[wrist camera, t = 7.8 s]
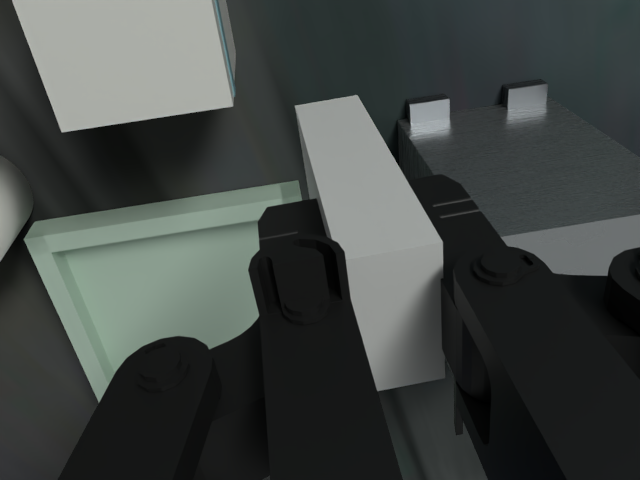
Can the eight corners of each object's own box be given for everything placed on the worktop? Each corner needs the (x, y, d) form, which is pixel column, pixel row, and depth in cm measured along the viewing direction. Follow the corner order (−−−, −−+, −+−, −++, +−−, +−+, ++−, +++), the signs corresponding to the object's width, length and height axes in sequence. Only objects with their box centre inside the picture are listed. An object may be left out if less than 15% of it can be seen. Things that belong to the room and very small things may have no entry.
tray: (115, 405, 37) (110, 427, 36) (34, 221, 30) (23, 239, 29) (327, 370, 38) (330, 389, 36) (298, 180, 31) (301, 195, 29)
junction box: (404, 277, 35) (498, 500, 22) (396, 101, 29) (516, 265, 16) (538, 255, 35) (707, 462, 22) (556, 76, 29) (798, 219, 17)
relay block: (107, 72, 27) (60, 134, 20) (60, -76, 24) (-14, -63, 17) (236, 53, 27) (234, 107, 20) (208, -97, 24) (194, -92, 17)
